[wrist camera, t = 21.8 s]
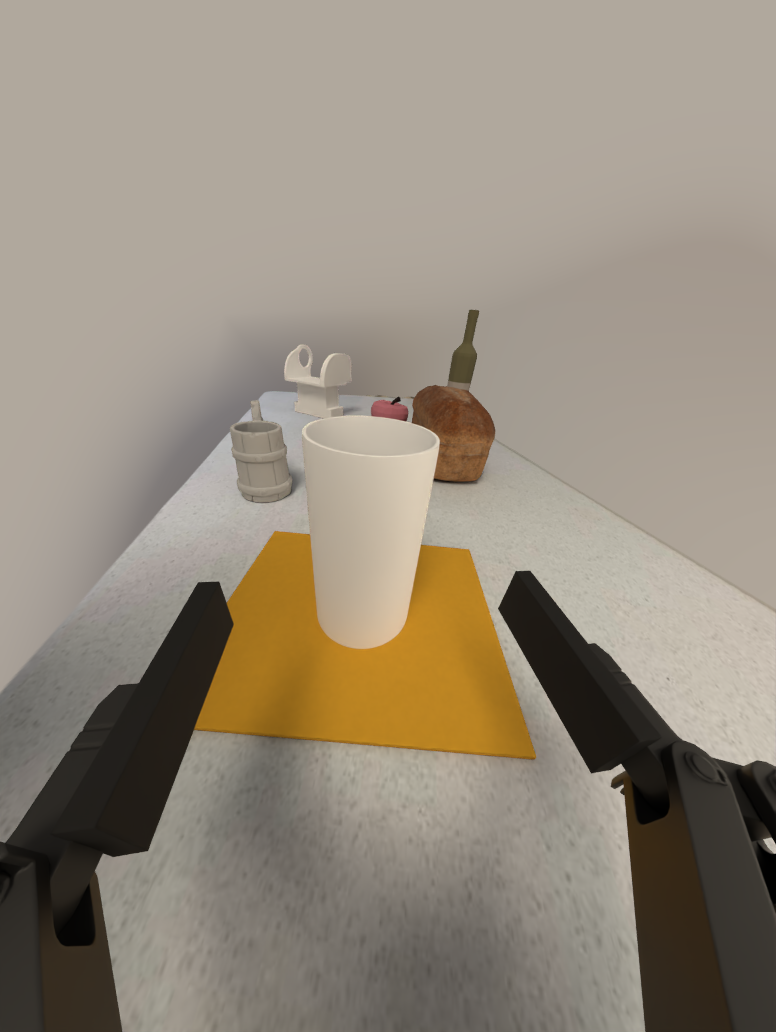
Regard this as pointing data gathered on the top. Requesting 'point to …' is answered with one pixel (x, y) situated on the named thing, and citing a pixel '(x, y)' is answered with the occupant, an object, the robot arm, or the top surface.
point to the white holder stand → (318, 383)
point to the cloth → (366, 664)
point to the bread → (455, 430)
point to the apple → (390, 410)
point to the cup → (366, 521)
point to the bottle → (464, 357)
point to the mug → (260, 458)
